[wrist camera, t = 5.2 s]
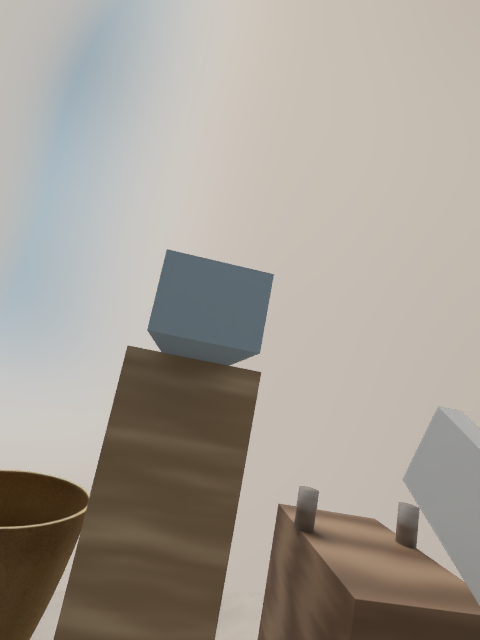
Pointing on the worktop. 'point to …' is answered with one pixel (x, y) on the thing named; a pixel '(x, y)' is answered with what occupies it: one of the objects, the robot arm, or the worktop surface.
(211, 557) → the stand
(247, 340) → the blue-grey block
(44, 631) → the worktop surface
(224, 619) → the worktop surface
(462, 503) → the robot arm
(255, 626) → the worktop surface
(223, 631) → the worktop surface
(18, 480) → the plant pot
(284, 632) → the wooden block with pegs
